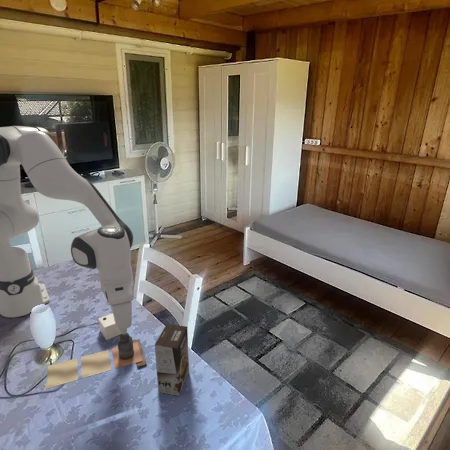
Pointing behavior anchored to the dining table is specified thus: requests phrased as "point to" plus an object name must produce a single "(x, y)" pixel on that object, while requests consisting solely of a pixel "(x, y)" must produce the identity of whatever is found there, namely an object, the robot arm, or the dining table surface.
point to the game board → (92, 365)
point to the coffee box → (172, 359)
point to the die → (108, 326)
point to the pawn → (125, 346)
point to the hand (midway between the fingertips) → (121, 322)
